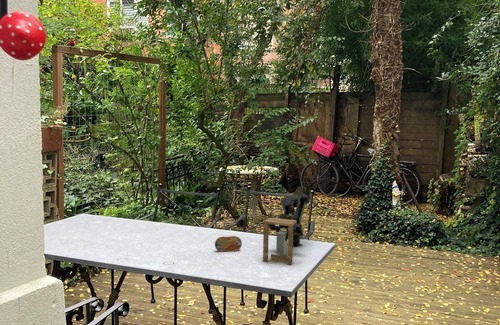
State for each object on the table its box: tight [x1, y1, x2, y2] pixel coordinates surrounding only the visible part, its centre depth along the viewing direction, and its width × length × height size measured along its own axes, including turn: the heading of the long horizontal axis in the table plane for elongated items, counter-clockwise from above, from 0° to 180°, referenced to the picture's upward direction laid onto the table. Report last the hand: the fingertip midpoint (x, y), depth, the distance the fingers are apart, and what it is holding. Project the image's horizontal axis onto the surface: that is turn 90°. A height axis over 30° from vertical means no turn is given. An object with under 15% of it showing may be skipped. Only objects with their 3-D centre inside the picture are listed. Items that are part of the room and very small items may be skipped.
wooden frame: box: [262, 217, 297, 266], centre depth 239 cm, size 10×15×21 cm, turn 71°
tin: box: [214, 235, 243, 253], centre depth 256 cm, size 15×3×8 cm, turn 105°
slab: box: [275, 229, 288, 255], centre depth 249 cm, size 7×4×11 cm, turn 158°
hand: (281, 240), depth 248 cm, fingers closed on slab, 4 cm apart
